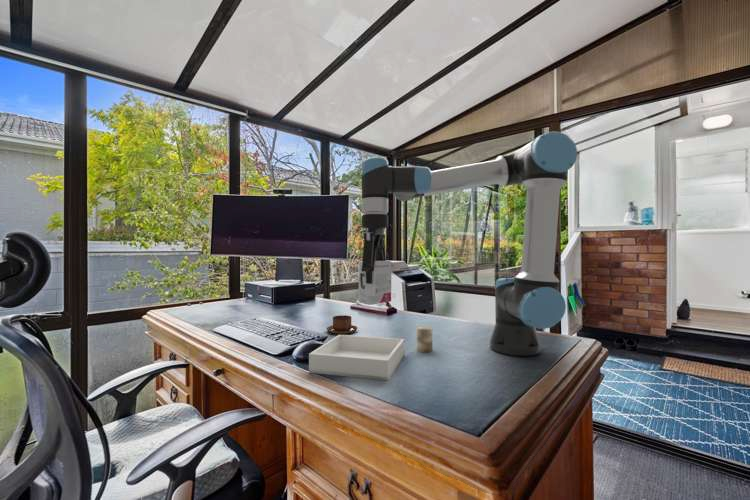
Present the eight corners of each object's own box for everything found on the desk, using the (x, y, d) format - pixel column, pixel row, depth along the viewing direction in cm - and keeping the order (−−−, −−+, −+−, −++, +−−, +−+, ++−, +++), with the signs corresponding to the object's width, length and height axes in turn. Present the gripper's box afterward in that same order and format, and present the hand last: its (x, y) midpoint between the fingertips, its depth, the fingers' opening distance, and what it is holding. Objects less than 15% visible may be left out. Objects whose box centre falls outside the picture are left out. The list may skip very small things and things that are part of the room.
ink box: (381, 300, 105) (381, 260, 105) (392, 302, 101) (392, 260, 101) (357, 303, 99) (357, 261, 99) (368, 305, 95) (368, 261, 95)
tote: (404, 355, 109) (404, 339, 109) (388, 380, 88) (388, 360, 88) (339, 350, 115) (338, 334, 115) (309, 372, 94) (308, 353, 94)
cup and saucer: (363, 332, 139) (363, 317, 139) (339, 338, 131) (339, 321, 131) (344, 327, 148) (344, 313, 148) (320, 332, 139) (320, 317, 139)
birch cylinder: (433, 348, 116) (433, 327, 116) (431, 353, 111) (431, 330, 111) (418, 347, 118) (418, 326, 118) (415, 351, 113) (415, 329, 113)
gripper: (373, 217, 112) (373, 288, 112) (349, 210, 90) (349, 298, 90) (396, 217, 110) (396, 289, 110) (377, 209, 88) (377, 299, 88)
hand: (375, 293), depth 100 cm, fingers closed on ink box, 9 cm apart
